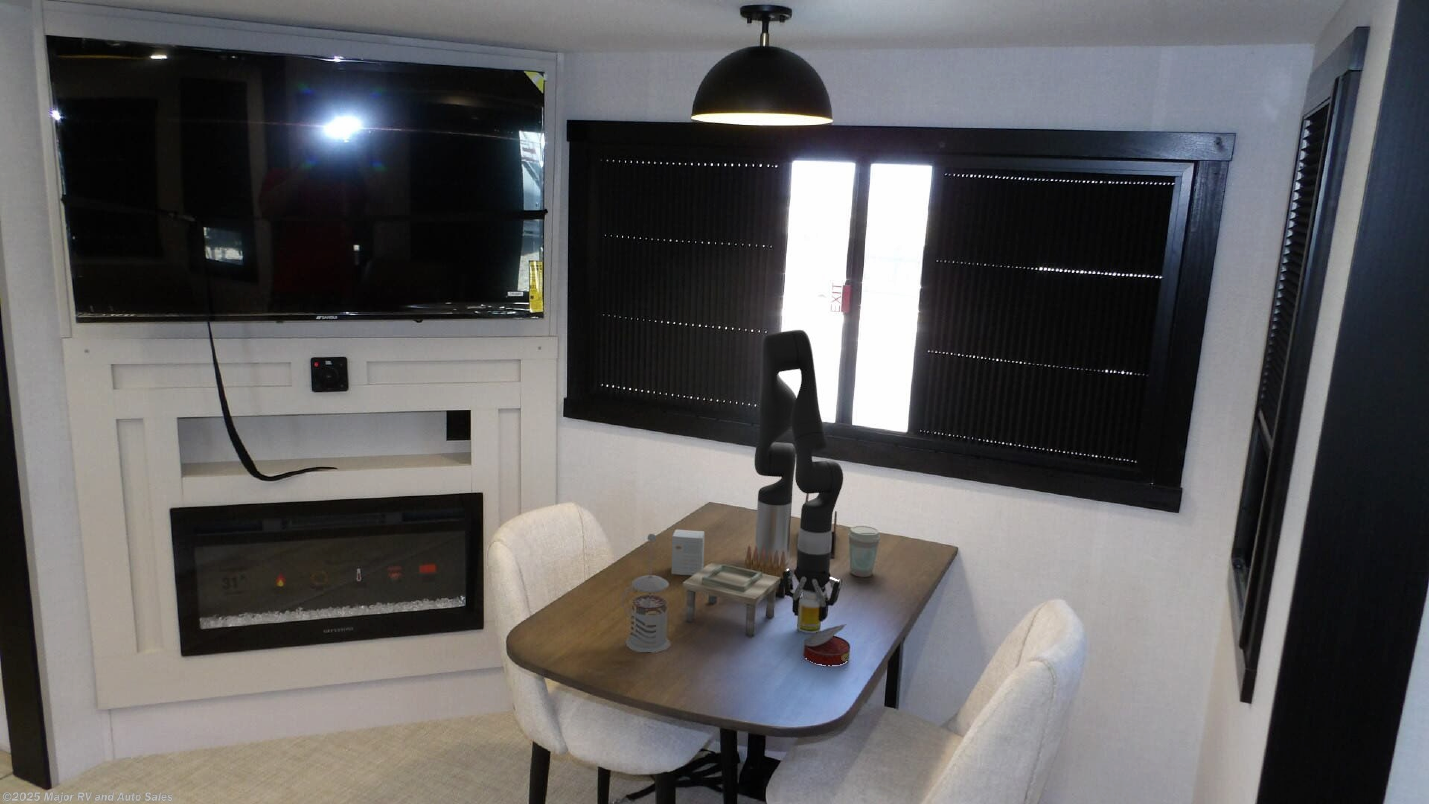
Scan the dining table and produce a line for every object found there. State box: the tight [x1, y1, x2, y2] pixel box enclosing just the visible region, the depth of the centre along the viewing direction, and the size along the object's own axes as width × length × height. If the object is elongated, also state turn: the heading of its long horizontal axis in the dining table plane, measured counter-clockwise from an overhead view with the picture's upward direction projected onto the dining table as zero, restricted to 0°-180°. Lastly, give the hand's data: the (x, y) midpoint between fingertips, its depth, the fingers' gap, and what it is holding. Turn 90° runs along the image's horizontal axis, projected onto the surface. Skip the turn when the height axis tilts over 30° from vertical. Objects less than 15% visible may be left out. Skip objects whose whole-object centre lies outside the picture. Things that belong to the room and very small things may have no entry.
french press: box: [621, 533, 671, 653], centre depth 209 cm, size 10×12×25 cm
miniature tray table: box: [682, 562, 780, 638], centre depth 224 cm, size 15×18×11 cm
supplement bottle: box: [796, 589, 822, 634], centre depth 220 cm, size 5×5×10 cm
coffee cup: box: [847, 525, 881, 578], centre depth 257 cm, size 8×8×12 cm
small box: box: [671, 529, 705, 576], centre depth 252 cm, size 8×6×10 cm
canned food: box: [803, 623, 851, 666], centre depth 207 cm, size 11×10×10 cm
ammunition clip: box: [744, 545, 787, 599], centre depth 240 cm, size 11×2×12 cm, turn 72°
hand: (809, 617), depth 221 cm, fingers closed on supplement bottle, 5 cm apart
